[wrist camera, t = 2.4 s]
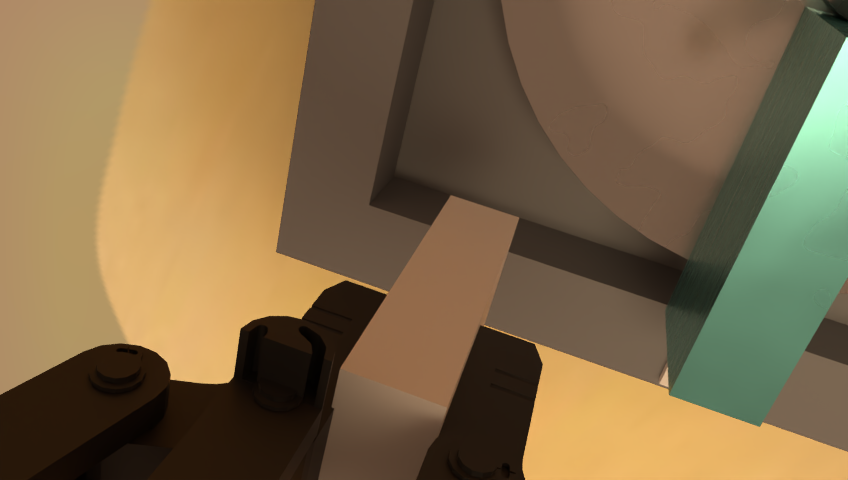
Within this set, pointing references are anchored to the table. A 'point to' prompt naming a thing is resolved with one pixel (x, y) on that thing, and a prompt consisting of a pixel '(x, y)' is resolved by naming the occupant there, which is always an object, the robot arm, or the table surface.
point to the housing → (491, 195)
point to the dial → (709, 164)
